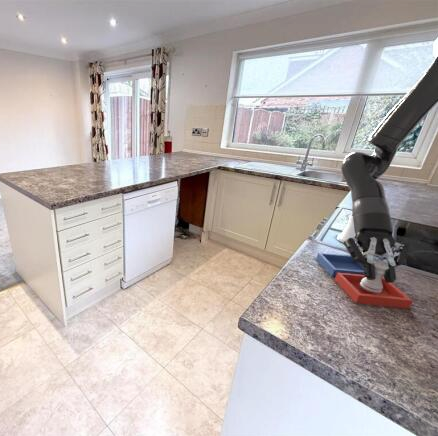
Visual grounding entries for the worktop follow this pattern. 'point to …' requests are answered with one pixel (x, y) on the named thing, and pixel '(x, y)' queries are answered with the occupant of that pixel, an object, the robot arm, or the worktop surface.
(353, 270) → the blue tray
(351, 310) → the worktop surface
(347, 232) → the vase
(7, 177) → the worktop surface
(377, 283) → the rook chess piece
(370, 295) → the red tray
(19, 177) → the worktop surface
